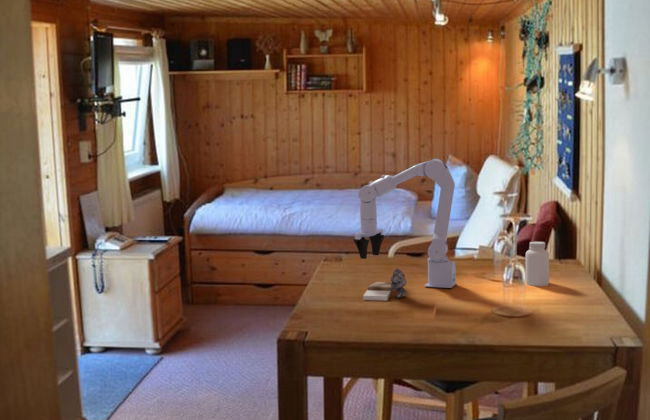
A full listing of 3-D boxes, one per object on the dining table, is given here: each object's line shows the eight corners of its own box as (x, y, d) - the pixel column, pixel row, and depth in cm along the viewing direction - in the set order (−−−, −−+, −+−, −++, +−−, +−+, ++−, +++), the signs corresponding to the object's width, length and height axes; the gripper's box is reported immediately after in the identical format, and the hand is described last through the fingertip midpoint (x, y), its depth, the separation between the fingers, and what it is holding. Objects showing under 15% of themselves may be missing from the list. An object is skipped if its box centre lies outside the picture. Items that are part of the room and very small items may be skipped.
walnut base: (400, 288, 279) (400, 282, 278) (392, 294, 270) (392, 287, 270) (376, 287, 282) (376, 281, 282) (367, 292, 274) (367, 286, 274)
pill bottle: (546, 282, 281) (546, 240, 280) (550, 287, 274) (551, 244, 272) (523, 282, 282) (523, 240, 281) (527, 287, 274) (527, 244, 273)
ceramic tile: (390, 295, 269) (390, 290, 269) (387, 300, 261) (387, 296, 261) (367, 294, 270) (367, 290, 270) (363, 300, 263) (363, 295, 262)
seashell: (406, 299, 262) (405, 269, 261) (389, 299, 263) (389, 269, 262) (407, 295, 267) (407, 266, 266) (391, 295, 268) (391, 266, 267)
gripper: (371, 216, 289) (372, 252, 291) (347, 220, 278) (348, 259, 279) (387, 216, 285) (388, 254, 286) (363, 221, 273) (364, 260, 275)
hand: (369, 256), depth 282 cm, fingers open, 7 cm apart
